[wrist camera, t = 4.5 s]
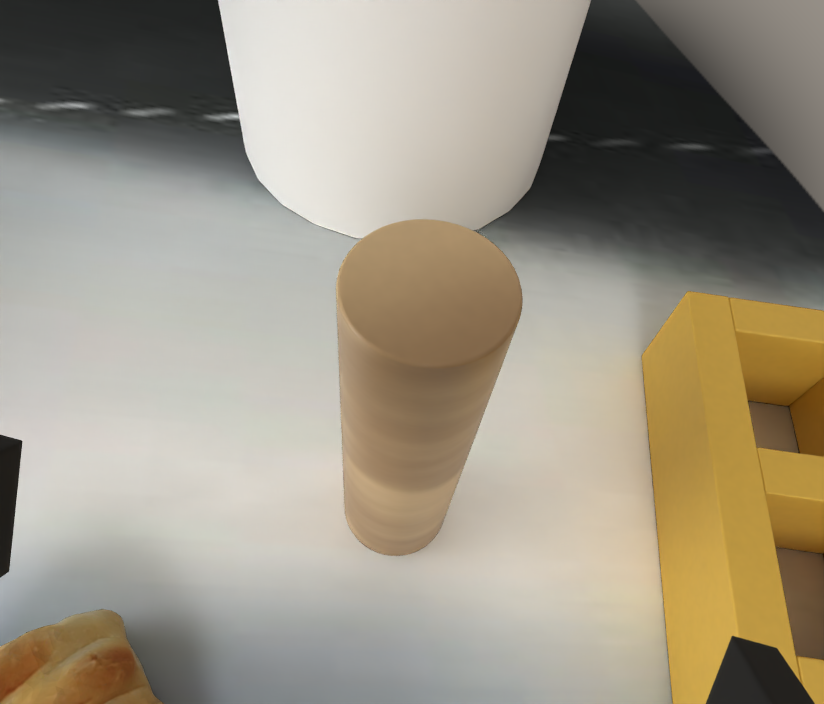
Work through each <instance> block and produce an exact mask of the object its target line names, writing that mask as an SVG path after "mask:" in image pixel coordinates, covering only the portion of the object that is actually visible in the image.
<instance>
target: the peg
mask: <svg viewBox="0 0 824 704" xmlns="http://www.w3.org/2000/svg"><path fill="white" fill-rule="evenodd" d="M336 302H337V327H338V353H339V378H340V404H341V429H342V454H343V480H344V505H345V515H346V519H347V522H348V525H349V527H350V529H351V531H352V532H353V534H354V535H355V537H356V538H357V539H358V540H359V541H360V542H361V543H362V544H363V545H365V546H366V547H368V548H369V549H371V550H373V551H375V552H378V553H381V554H384V555H390V556H400V555H407V554H411V553H413V552H416V551H418V550H420V549H422V548H424V547H425V546H426V545H428V544H429V543H430V542H431V541H432V540H433V539H434V538H435V536H436V535H437V534H438V532H439V530H440V528H441V526H442V524H443V521H444V518H445V516H446V513H447V510H448V508H449V505H450V502H451V500H452V497H453V494H454V492H455V489H456V486H457V484H458V481H459V478H460V476H461V473H462V470H463V468H464V465H465V463H466V460H467V457H468V455H469V452H470V449H471V447H472V444H473V441H474V439H475V436H476V433H477V431H478V428H479V425H480V423H481V420H482V417H483V415H484V412H485V409H486V407H487V404H488V401H489V399H490V396H491V393H492V391H493V388H494V385H495V383H496V380H497V377H498V375H499V372H500V369H501V367H502V364H503V361H504V359H505V356H506V353H507V351H508V348H509V345H510V343H511V340H512V337H513V335H514V332H515V329H516V327H517V324H518V321H519V319H520V315H521V310H522V289H521V285H520V282H519V278H518V276H517V274H516V271H515V269H514V267H513V266H512V264H511V262H510V261H509V259H508V258H507V257H506V256H505V254H504V253H503V252H502V251H501V250H500V249H499V248H498V247H497V246H496V245H495V244H493V243H492V242H491V241H489V240H488V239H487V238H485V237H484V236H482V235H480V234H479V233H477V232H475V231H473V230H471V229H469V228H466V227H463V226H461V225H458V224H454V223H450V222H446V221H440V220H430V219H413V220H406V221H400V222H396V223H392V224H389V225H386V226H383V227H381V228H379V229H377V230H375V231H373V232H371V233H370V234H368V235H367V236H365V237H364V238H362V239H361V240H360V241H359V242H358V243H357V244H356V245H355V246H354V247H353V248H352V249H351V250H350V251H349V253H348V254H347V256H346V257H345V259H344V261H343V263H342V265H341V267H340V269H339V273H338V277H337V283H336Z"/></svg>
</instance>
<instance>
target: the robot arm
mask: <svg viewBox="0 0 824 704" xmlns="http://www.w3.org/2000/svg"><path fill="white" fill-rule="evenodd" d="M21 449H22V441H21V440H17V439H14V438H10V437H7V436H3V435H0V577H2V576H3V575H5V574H6V573H7V572H9V567H10V557H11V547H12V537H13V527H14V517H15V508H16V498H17V488H18V478H19V468H20V458H21ZM706 704H815V703H814V701H813V700H812V698H811V697H810V696H809V694H808V693H807V691H806V690H805V688H804V687H803V685H802V684H801V682H800V681H799V679H798V678H797V676H796V675H795V674H794V672H793V671H792V669H791V668H790V666H789V665H788V663H787V662H786V660H785V659H784V657H783V656H782V654H781V653H780V652H779V650H778V649H777V648H775V647H772V646H768V645H764V644H761V643H757V642H753V641H750V640H746V639H743V638H739V637H735V636H732V637H731V640H730V642H729V645H728V647H727V650H726V652H725V655H724V658H723V660H722V663H721V665H720V668H719V670H718V673H717V676H716V678H715V681H714V683H713V686H712V688H711V691H710V694H709V696H708V699H707V701H706Z"/></svg>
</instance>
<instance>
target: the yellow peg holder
mask: <svg viewBox="0 0 824 704" xmlns="http://www.w3.org/2000/svg"><path fill="white" fill-rule="evenodd" d="M642 365H643V376H644V388H645V399H646V410H647V421H648V432H649V443H650V455H651V466H652V477H653V488H654V499H655V510H656V521H657V533H658V544H659V555H660V566H661V577H662V588H663V600H664V611H665V622H666V633H667V644H668V655H669V667H670V678H671V689H672V700H673V704H706V701H707V699H708V696H709V694H710V691H711V688H712V686H713V683H714V681H715V678H716V676H717V673H718V670H719V668H720V665H721V663H722V660H723V658H724V655H725V652H726V650H727V647H728V645H729V642H730V640H731V637H732V636H735V637H739V638H743V639H746V640H750V641H753V642H757V643H761V644H764V645H768V646H772V647H775V648H777V649H778V650H779V652H780V653H781V654H782V656H783V657H784V659H785V660H786V662H787V663H788V665H789V666H790V668H791V669H792V671H793V672H794V674H795V675H796V676H797V678H798V679H799V681H800V682H801V684H802V685H803V687H804V688H805V690H806V691H807V693H808V694H809V696H810V697H811V698H812V700H813V701H814V703H815V704H824V660H822V659H815V658H808V657H801V656H796V654H795V649H794V643H793V638H792V633H791V628H790V622H789V617H788V612H787V606H786V601H785V596H784V590H783V585H782V580H781V574H780V569H779V564H778V559H777V553H776V548H775V547H780V548H787V549H794V550H801V551H808V552H815V553H823V556H824V311H822V310H815V309H808V308H801V307H794V306H787V305H780V304H773V303H766V302H759V301H752V300H745V299H738V298H728V297H726V296H719V295H712V294H705V293H698V292H691V291H688V292H687V293H686V294H685V296H684V297H683V298H682V300H681V301H680V303H679V304H678V305H677V307H676V308H675V310H674V311H673V312H672V314H671V315H670V317H669V318H668V319H667V321H666V322H665V324H664V325H663V326H662V328H661V329H660V331H659V332H658V333H657V335H656V336H655V338H654V339H653V340H652V342H651V343H650V345H649V346H648V347H647V349H646V350H645V352H644V353H643V354H642ZM748 401H755V402H762V403H769V404H776V405H783V406H789V407H790V411H791V416H792V420H793V425H794V429H795V433H796V438H797V442H798V447H799V451H800V453H794V452H787V451H780V450H773V449H766V448H757V447H756V442H755V436H754V431H753V426H752V421H751V415H750V410H749V405H748Z"/></svg>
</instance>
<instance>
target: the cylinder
mask: <svg viewBox="0 0 824 704" xmlns="http://www.w3.org/2000/svg"><path fill="white" fill-rule="evenodd" d="M590 1H591V0H218V2H219V7H220V13H221V18H222V24H223V29H224V35H225V41H226V46H227V52H228V57H229V63H230V68H231V74H232V79H233V85H234V90H235V96H236V101H237V107H238V112H239V118H240V123H241V129H242V135H243V140H244V146H245V151H246V154H247V156H248V159H249V161H250V163H251V165H252V167H253V169H254V172H255V174H256V176H257V178H258V180H259V181H260V182H261V183H262V184H263V185H264V186H265V187H266V188H267V189H268V190H269V192H270V193H271V194H272V195H273V196H274V197H275V198H276V199H277V200H278V201H279V202H280V203H281V204H282V205H284V206H285V207H287V208H289V209H290V210H292V211H294V212H295V213H297V214H298V215H300V216H302V217H303V218H305V219H307V220H308V221H310V222H312V223H313V224H315V225H318V226H321V227H324V228H327V229H330V230H333V231H336V232H339V233H342V234H345V235H348V236H351V237H354V238H360V239H362V238H364V237H365V236H367V235H368V234H370V233H371V232H373V231H375V230H377V229H379V228H381V227H383V226H386V225H389V224H392V223H396V222H400V221H406V220H413V219H430V220H440V221H446V222H450V223H454V224H458V225H461V226H463V227H466V228H469V229H471V230H477V229H480V228H482V227H483V226H485V225H487V224H488V223H490V222H492V221H493V220H495V219H497V218H498V217H500V216H502V215H504V214H505V213H507V212H509V211H510V210H511V209H512V208H513V207H514V206H515V205H516V203H517V202H518V201H519V200H520V199H521V198H522V197H523V196H524V195H525V193H526V192H527V191H528V190H529V189H530V188H531V185H532V183H533V180H534V177H535V175H536V172H537V170H538V167H539V165H540V162H541V159H542V156H543V152H544V149H545V146H546V143H547V139H548V136H549V133H550V130H551V127H552V123H553V120H554V117H555V114H556V111H557V107H558V104H559V101H560V98H561V95H562V91H563V88H564V85H565V82H566V78H567V75H568V72H569V69H570V66H571V62H572V59H573V56H574V53H575V50H576V46H577V43H578V40H579V37H580V34H581V30H582V27H583V24H584V21H585V17H586V14H587V11H588V8H589V5H590Z"/></svg>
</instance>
